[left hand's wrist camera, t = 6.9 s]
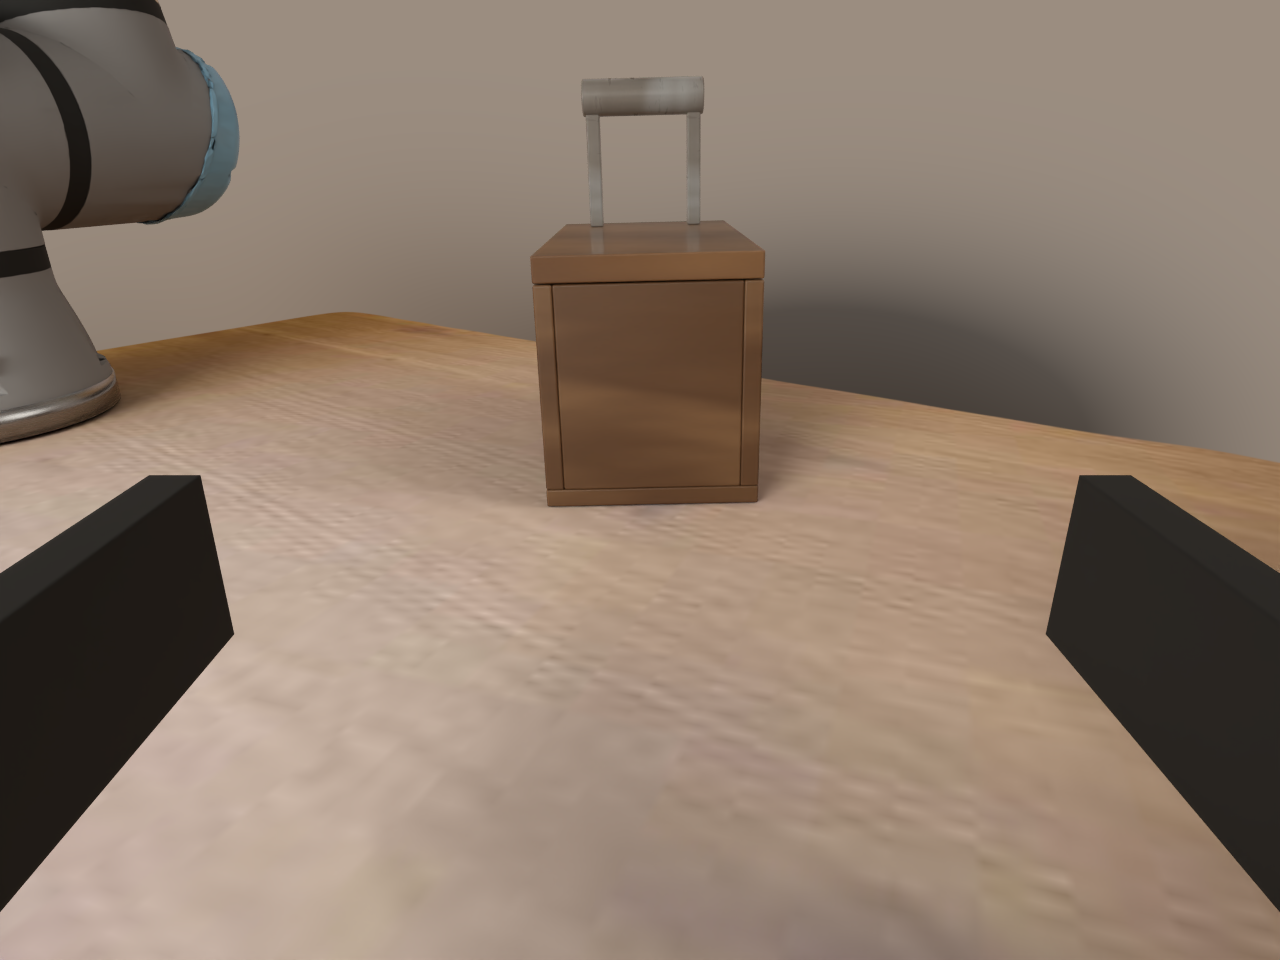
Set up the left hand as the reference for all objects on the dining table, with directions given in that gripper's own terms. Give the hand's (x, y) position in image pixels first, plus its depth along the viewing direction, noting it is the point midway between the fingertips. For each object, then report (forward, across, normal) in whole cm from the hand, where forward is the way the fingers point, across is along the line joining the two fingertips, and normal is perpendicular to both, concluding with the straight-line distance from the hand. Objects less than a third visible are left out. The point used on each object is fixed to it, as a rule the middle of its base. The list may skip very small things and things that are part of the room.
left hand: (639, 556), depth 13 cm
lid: (+30, 0, +1) cm, 30 cm away
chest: (+30, 0, -8) cm, 31 cm away
